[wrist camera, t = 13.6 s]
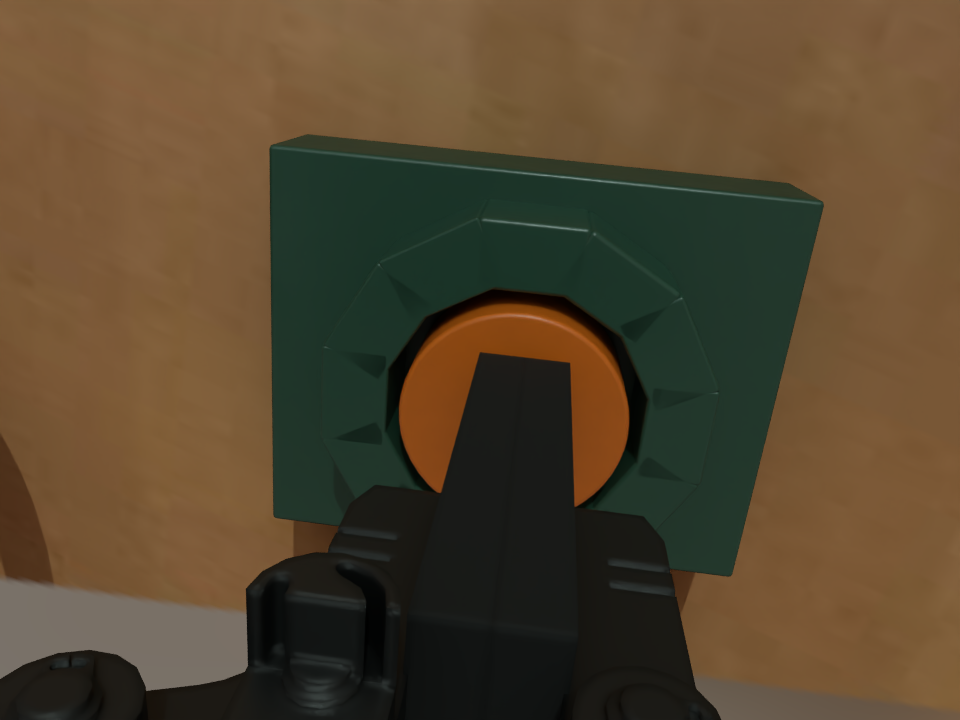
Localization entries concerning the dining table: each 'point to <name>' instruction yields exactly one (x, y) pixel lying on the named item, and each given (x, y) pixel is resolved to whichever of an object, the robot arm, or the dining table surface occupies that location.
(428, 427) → the button
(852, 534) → the dining table surface
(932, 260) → the dining table surface
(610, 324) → the button box
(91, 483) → the dining table surface
